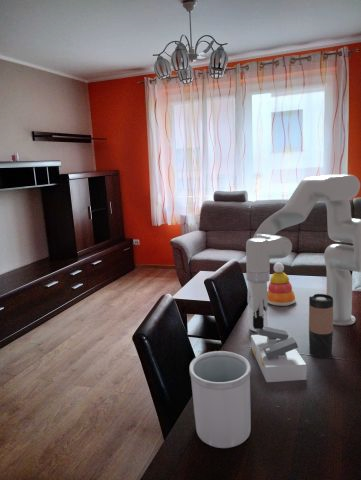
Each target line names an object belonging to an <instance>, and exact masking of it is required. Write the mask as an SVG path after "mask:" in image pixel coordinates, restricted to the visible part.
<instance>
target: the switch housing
mask: <svg viewBox="0 0 361 480" xmlns="http://www.w3.org/2000/svg"><path fill="white" fill-rule="evenodd" d="M250 341H251V342H250V343H251V344H250V345H251V350H252V353H253V356H254V357H255V359H256V362H257V364H258V367H259V369H260V371H261V373H262V375H263V377H264V379H265V382H266V383H277V382H278V383H279V382H290V381H291V382H293V381H306V380H307V363H306V362H305V360H304V359H303V358H302V356H301V355H300V353H299V352H298V351H297V348H296V349H294V350H291V351H288V352H286V353H283V354H281V355H278V356H276V357H273V358H270V359H267V357H266V355H265V353H264V350H263V348H265V347H268V346H271V345H273V344H276V343H278V342H281V341H283V340H281V339H276V338H271V337H266V336H262V335H258V334H251V335H250Z"/></svg>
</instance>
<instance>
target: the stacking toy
mask: <svg viewBox="0 0 361 480" xmlns="http://www.w3.org/2000/svg"><path fill="white" fill-rule="evenodd" d="M273 271H274V272H273V273H272V275H270V276H271V277H270V280H269V281H270V282H269V284H268V286H267V296H268V304H270V305H274V306H281V307H282V306H283V307H286V306H290V305H293V304H295V303H296V301H297V297H296V295H295V292H294V291H293V286H292V284H291V282H290V278H289V276H288V275H287V274H286V273H285V272H284V271H285V266H284V264H283V263H282V262H280V261H277V262H275V264H274V265H273Z"/></svg>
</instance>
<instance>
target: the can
mask: <svg viewBox="0 0 361 480" xmlns="http://www.w3.org/2000/svg"><path fill="white" fill-rule="evenodd" d="M253 316H255V315H253V311H252V310H251V308H250V306H249V305H248V317H249V318H248V319H249V323H248V324H249V325H248V326H249V327H248V328H249V330H251V331H252V332H253V333H254V332H255V333H257V331H256V330H257V329H254V327H253ZM264 326H265V327H268V310H267V311H265V310H264Z"/></svg>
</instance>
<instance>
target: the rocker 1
mask: <svg viewBox="0 0 361 480" xmlns="http://www.w3.org/2000/svg"><path fill="white" fill-rule="evenodd" d="M256 331H257V332H256V333H257V335H262V336H266V337H271V338H276V339H281V340H286V339H288V338H289V334H288V332H287V331H286V330H283V329H278V328H274V327H268V326H267V327H265V326H264V328H261V329H257V330H256Z"/></svg>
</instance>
